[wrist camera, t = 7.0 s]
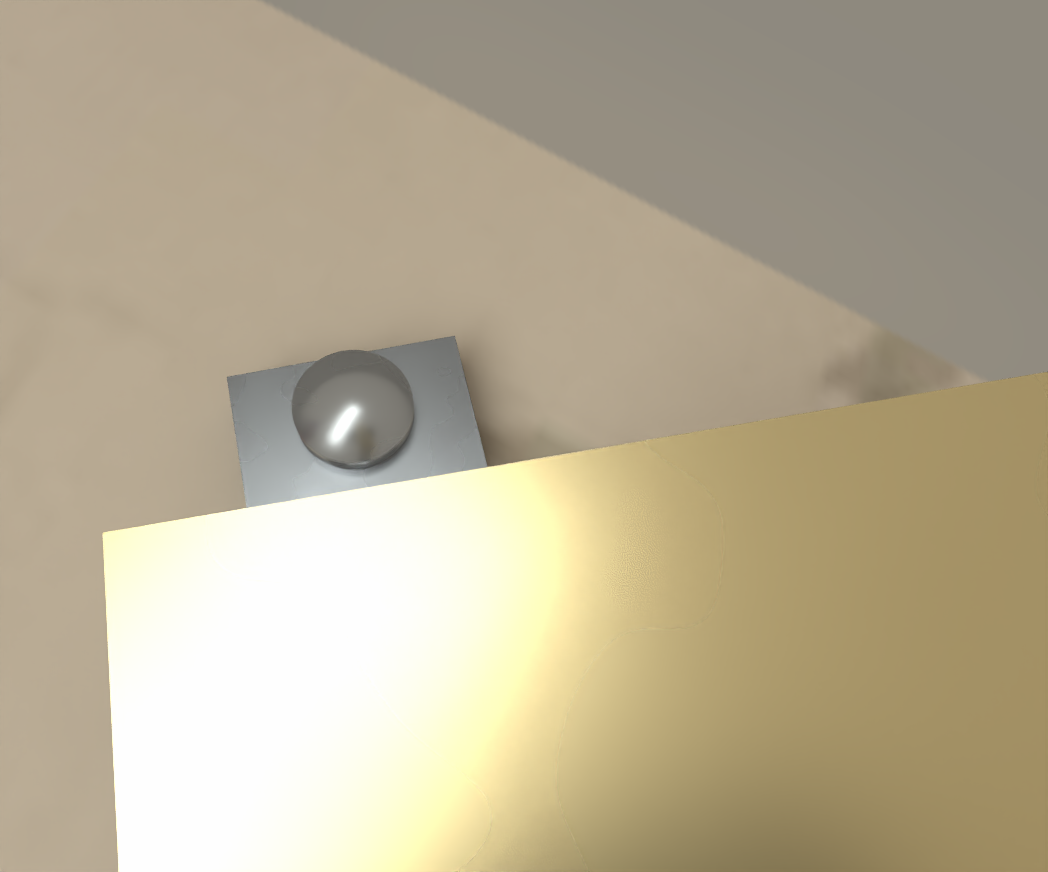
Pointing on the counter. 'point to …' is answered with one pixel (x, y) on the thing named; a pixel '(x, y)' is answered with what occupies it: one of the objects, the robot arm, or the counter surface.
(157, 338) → the counter surface
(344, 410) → the chain ends
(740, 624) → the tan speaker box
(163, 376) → the counter surface
